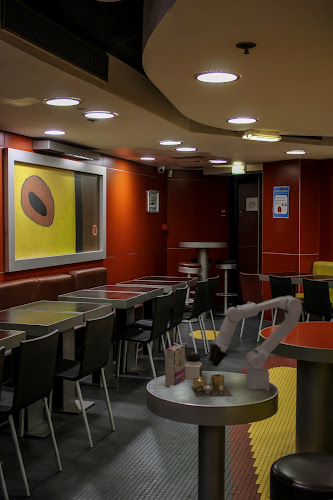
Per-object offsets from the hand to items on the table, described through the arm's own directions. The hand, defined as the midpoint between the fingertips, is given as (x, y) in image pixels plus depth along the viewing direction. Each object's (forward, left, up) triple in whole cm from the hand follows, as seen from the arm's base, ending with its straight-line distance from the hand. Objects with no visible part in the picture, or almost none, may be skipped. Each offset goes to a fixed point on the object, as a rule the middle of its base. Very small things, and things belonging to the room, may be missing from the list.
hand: (213, 363), depth 249 cm
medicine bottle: (+6, -17, -11) cm, 21 cm away
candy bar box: (+15, -10, -11) cm, 21 cm away
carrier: (+1, +5, -11) cm, 12 cm away
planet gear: (-2, 0, -10) cm, 10 cm away
